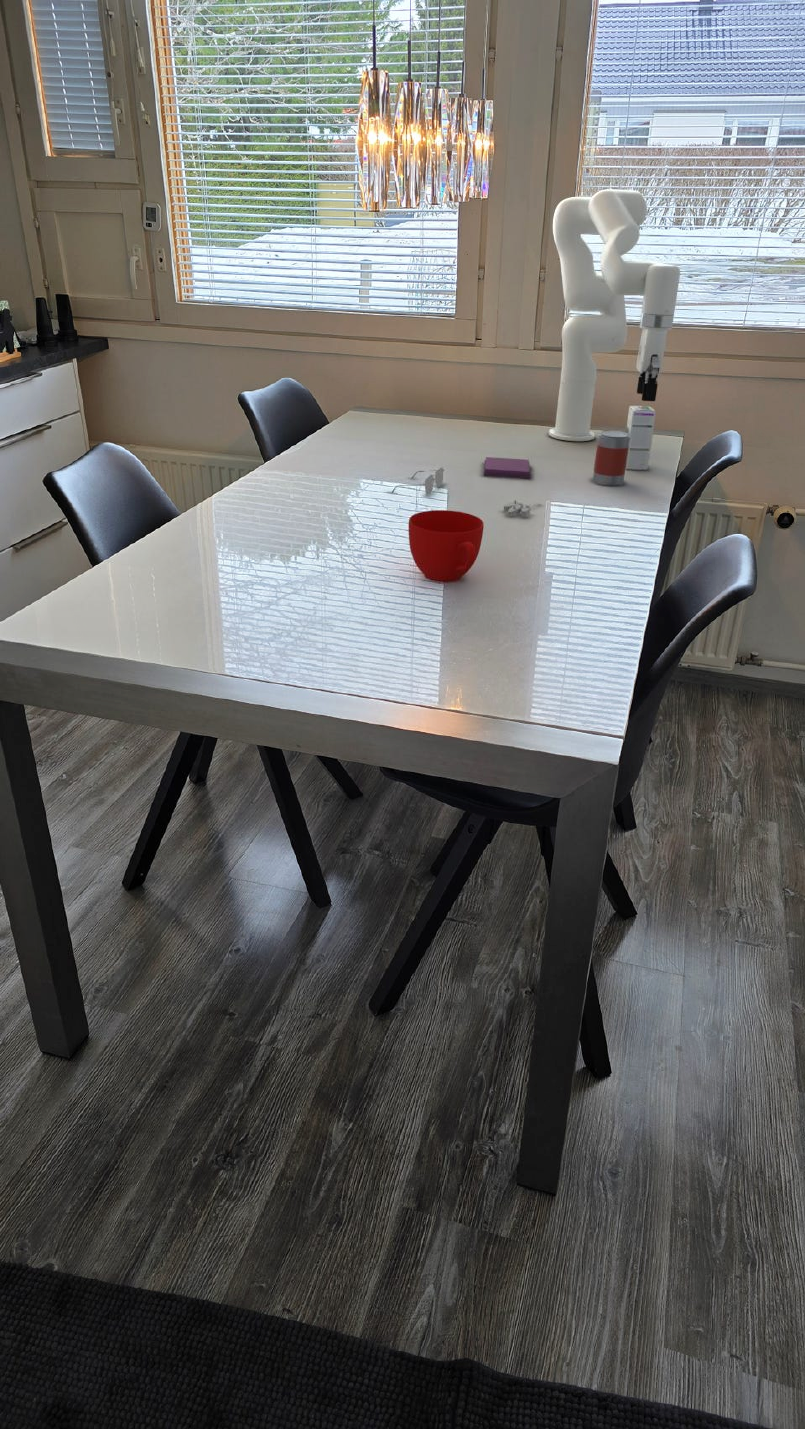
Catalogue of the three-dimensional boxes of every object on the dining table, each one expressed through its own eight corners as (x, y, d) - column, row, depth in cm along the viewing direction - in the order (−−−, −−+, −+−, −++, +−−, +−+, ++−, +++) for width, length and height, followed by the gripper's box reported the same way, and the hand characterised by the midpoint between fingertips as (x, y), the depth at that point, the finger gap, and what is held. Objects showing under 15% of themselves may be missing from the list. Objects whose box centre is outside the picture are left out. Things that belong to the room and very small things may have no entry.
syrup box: (648, 470, 249) (657, 410, 242) (624, 469, 249) (633, 409, 242) (643, 464, 254) (652, 406, 247) (620, 463, 254) (629, 405, 247)
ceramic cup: (434, 601, 166) (438, 543, 161) (394, 567, 180) (396, 513, 175) (503, 592, 171) (508, 536, 166) (459, 560, 184) (463, 507, 180)
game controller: (499, 515, 210) (500, 503, 209) (514, 502, 220) (515, 490, 218) (525, 519, 208) (526, 507, 207) (539, 506, 218) (541, 494, 217)
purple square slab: (484, 463, 248) (485, 456, 247) (528, 466, 248) (529, 459, 247) (483, 476, 238) (484, 469, 237) (529, 479, 237) (530, 472, 236)
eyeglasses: (425, 498, 219) (424, 479, 218) (391, 496, 222) (390, 478, 220) (444, 482, 231) (444, 465, 229) (412, 481, 234) (411, 463, 232)
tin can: (591, 476, 241) (597, 429, 236) (621, 478, 241) (628, 431, 235) (593, 485, 235) (600, 436, 229) (625, 487, 234) (632, 438, 229)
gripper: (636, 317, 243) (626, 390, 251) (644, 325, 228) (634, 403, 235) (667, 319, 242) (656, 392, 250) (678, 327, 227) (666, 404, 235)
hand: (645, 397), depth 243 cm, fingers open, 9 cm apart
